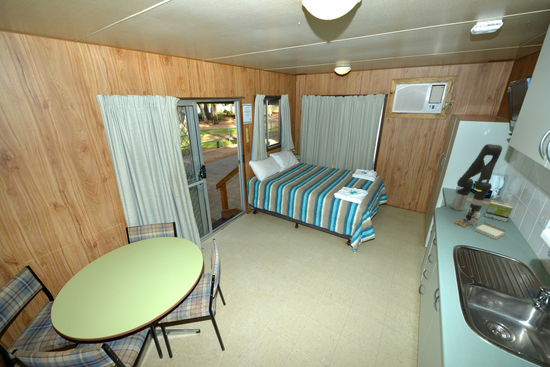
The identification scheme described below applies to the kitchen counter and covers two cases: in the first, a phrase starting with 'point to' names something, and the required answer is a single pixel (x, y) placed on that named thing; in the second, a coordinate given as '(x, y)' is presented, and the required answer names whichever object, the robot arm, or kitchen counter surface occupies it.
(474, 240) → the kitchen counter surface
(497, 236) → the dock
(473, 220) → the ink box
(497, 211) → the tea box
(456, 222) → the pallet
